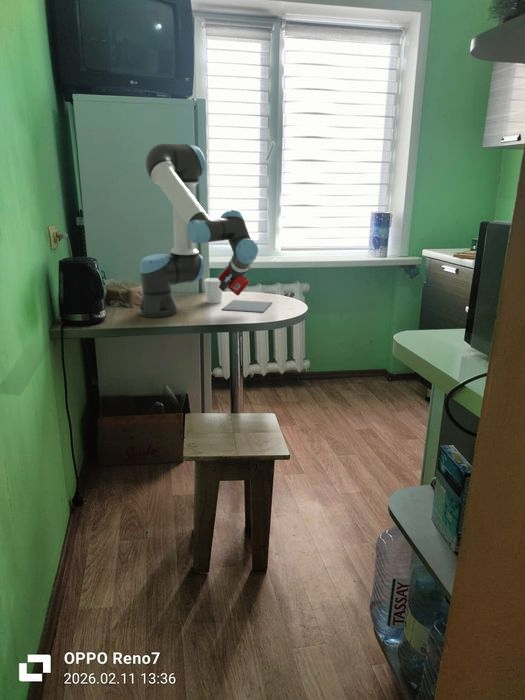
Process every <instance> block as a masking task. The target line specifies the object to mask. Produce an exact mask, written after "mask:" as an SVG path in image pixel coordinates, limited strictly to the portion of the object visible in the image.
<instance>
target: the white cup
mask: <svg viewBox="0 0 525 700" xmlns="http://www.w3.org/2000/svg"><path fill="white" fill-rule="evenodd" d="M203 281H204V291H205V298H206V303H207V304H220V303H222V301H223V299H222V298H223V291H222V290H221V289H220V288H219V286H220V283H221V281H220V280H219V279H218V277H211V278H205V279H204V280H203Z"/></svg>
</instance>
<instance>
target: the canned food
mask: <svg viewBox="0 0 525 700" xmlns="http://www.w3.org/2000/svg"><path fill="white" fill-rule="evenodd" d="M228 272H229V264H227V265H226V266H225V268H223V270H221V272H220V273H219V274H218V276H217V278H218V279H219V280H220V281H221V282H222V281H223V279H224V277H227V276H228V275H227V274H228ZM234 277H235V276H234ZM249 284H250V280H249V279H248V278H247V277H246V276H245V274H244V275H242V276H237V277H236V278H235V279H234V280H232V281H231V283H230V284H229V285H228V286H229V287H228V288H227V289H229V290H230V291H231V292H233V294H235V295H236V296H240V294H242V292H244V290H246V288H247V287H248V286H249Z"/></svg>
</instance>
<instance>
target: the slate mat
mask: <svg viewBox="0 0 525 700" xmlns="http://www.w3.org/2000/svg"><path fill="white" fill-rule="evenodd" d="M272 304H273V301H258V300H257V301H256V300H242V299H241V300H239V299H237V300H236V299H232V300H231V301H230V302H229V303H227V305H225V306H223V307H222V308H221V311H230V312H248V313H261V314H263V313H265V312H266V311H267V310H268V309H269V307H271V305H272Z"/></svg>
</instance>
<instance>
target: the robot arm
mask: <svg viewBox="0 0 525 700" xmlns="http://www.w3.org/2000/svg"><path fill="white" fill-rule="evenodd" d="M144 162H145V163H144V164H145V165H144V166H145V170H146V173H147V175H148V177H149V178H150V180H151V181H152V182H153V184H155V185H157V186H159V187H160V189H161V190H162V191H163V192H164V194H165V196H166V197H167V198H168V200H169V201H170V202H171V204H172V205H173V208H172V209H173V210H172V211H173V248H171V249H170V250H169V251H170V254H167V253H155V254H149V255H147V256H145V257H142V258H141V260H140V261H139V272H140V279H141V280H140V281H141V289H142V290H141V291H142V298H141V301H140V302H141V303H140V306H139V315H140V316H142V317H144V318H166V317H170V316H173V315H176V314H177V313H178V306H177V304H176V301H175V298H174V296H173V292H172V290H173V289H172V286H177V285H182V284H183V285H184V284H192V283H195V282H197V281H199V280H201V279H202V277H203V275H204V273H205V268H206V266H205V261H204V257H203V256H202V255H201V254H200V251H199V250H198V249H197V248H196V244H206V243H213V242H223V241H228V243H229V246H230V248H231V250H232V253H233V254H232V255H231V258H230V260H229V263H228V265H229V272H228V274H227V275H228V276H227V277H224V279H223V281H222V282H221V283H220V286H219V288H220V289H221V290H222V292H227V290H228V289H229V288H228V287H229V286H228V285H229V284H230V283H231V281H232V280H234V279H235V278H236V277H237V276H242V275H244V276H245V275H246V273H247V272H248V271H249V270H251V269H252V267H251V266H252V264H253V262H254V261H255V260H256V259H257V256H258V252H259V247H258V245H257V243H256V242H255V241H254V239H251V238H252V237H250V234H249V231H248V229H247V228H248V227H247V225H246V221H245V220H244V217H243V215H242V213H241V211H239V210H238V209H231V210H227V211H226V212H224V213H222V214H221V217H220V218H211V217H210V216H209V215H208V213H206V211H205V209H204V208H203V207H202V206H201V204H200V203H199V201H198V200H197V198H196V186H197V185H199V183H200V177H202V176H203V175H204V174H205V171H206V159H205V156H204V154H203V152H202V150H201V149H200V148H199V147H198V146H196V145H193V144H187V143H181V144H180V143H175V144H174V143H159V144H156V145H154V146H153V147H151V148H150V149H149V151H148V152H147V155H146V157H145V161H144ZM234 276H235V277H234Z"/></svg>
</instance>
